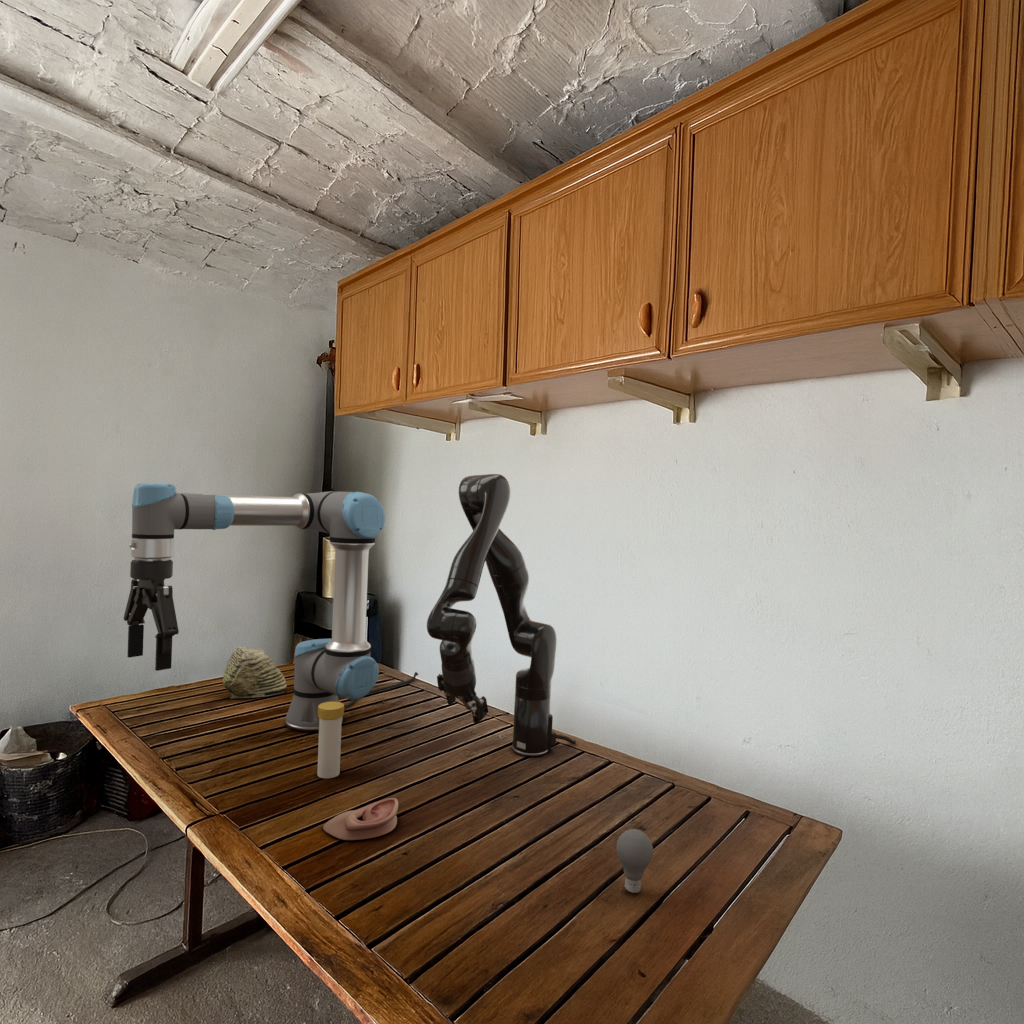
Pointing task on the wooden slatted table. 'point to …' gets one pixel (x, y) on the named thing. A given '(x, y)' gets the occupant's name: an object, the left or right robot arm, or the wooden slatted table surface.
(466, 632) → the right robot arm
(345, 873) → the wooden slatted table surface
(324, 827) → the anatomical model
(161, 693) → the wooden slatted table surface
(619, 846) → the light bulb
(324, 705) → the lid
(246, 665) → the fossil
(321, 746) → the bottle
